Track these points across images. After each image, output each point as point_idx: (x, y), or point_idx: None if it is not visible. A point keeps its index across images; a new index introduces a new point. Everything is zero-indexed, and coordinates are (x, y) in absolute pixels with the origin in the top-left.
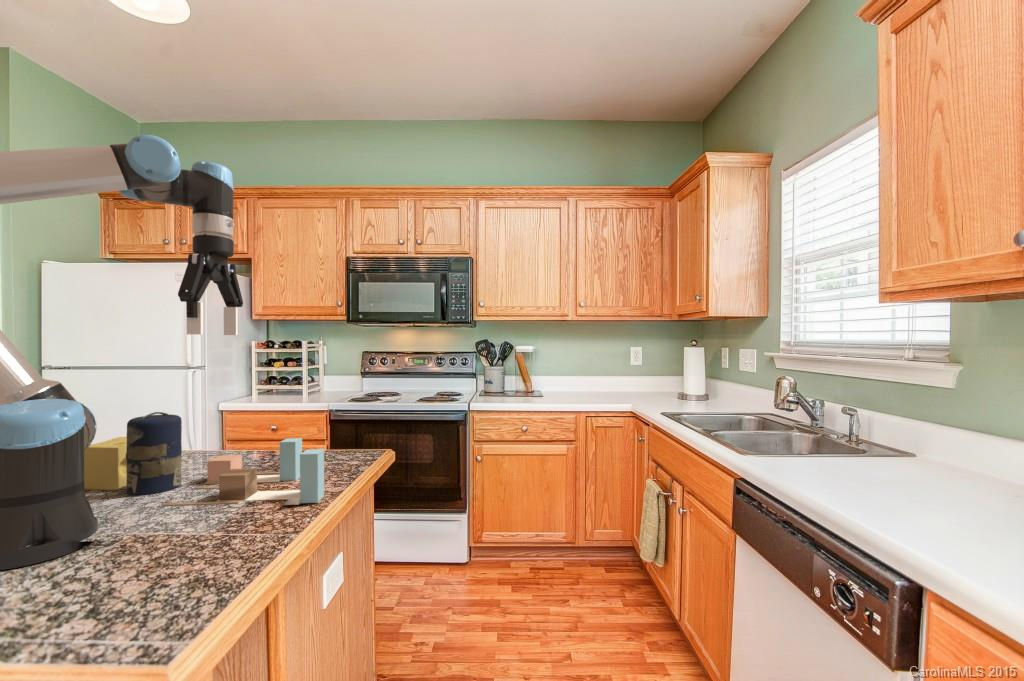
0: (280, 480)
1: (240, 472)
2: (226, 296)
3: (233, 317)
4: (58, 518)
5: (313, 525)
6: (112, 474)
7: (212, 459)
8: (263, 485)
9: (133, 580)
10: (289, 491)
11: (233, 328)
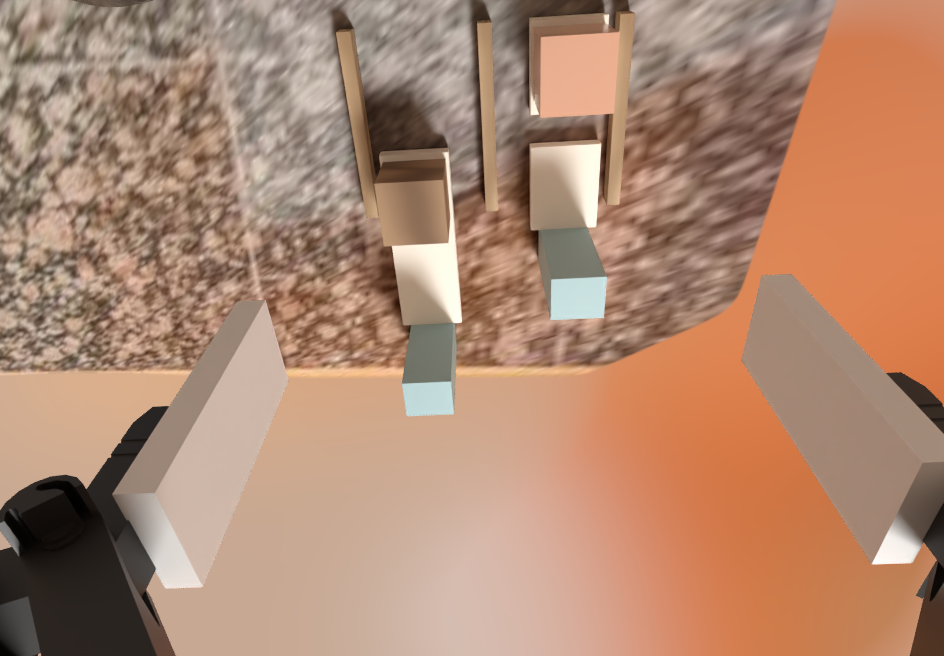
0: (540, 231)
1: (406, 222)
2: (938, 643)
3: (814, 452)
4: None
5: (311, 375)
6: None
7: (561, 42)
8: (496, 210)
9: (67, 215)
10: (450, 288)
11: (766, 379)
